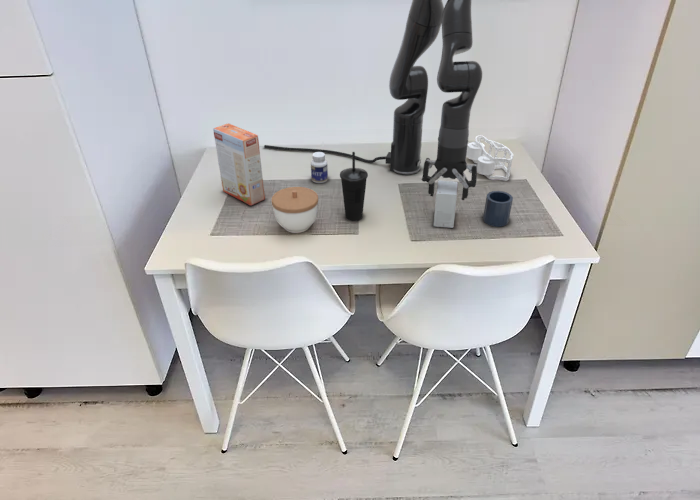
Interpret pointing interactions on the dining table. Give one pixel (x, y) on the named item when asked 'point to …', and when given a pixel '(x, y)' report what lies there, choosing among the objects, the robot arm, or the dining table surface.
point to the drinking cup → (353, 191)
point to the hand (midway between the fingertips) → (447, 197)
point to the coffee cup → (497, 208)
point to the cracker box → (239, 163)
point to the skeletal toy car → (489, 158)
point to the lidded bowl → (295, 208)
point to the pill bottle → (319, 168)
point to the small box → (445, 204)
